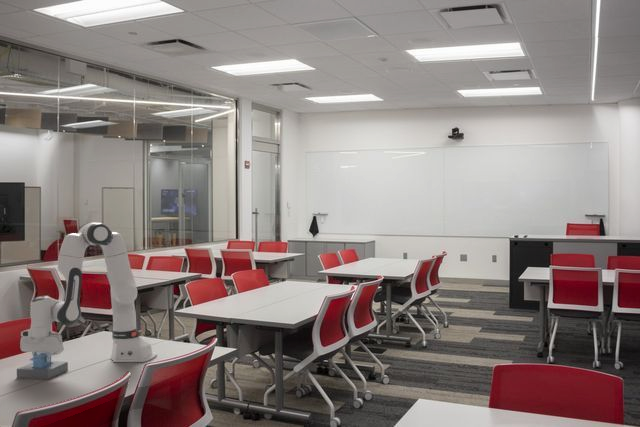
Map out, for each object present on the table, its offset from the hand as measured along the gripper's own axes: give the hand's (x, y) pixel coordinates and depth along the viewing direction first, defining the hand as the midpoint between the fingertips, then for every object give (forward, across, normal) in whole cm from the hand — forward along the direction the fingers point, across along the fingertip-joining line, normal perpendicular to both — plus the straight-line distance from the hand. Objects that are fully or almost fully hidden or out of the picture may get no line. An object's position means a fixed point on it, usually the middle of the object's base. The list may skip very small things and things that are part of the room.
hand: (42, 361), depth 269 cm
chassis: (+6, 0, 0) cm, 6 cm away
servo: (+2, 0, 0) cm, 2 cm away
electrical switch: (+6, +23, -40) cm, 47 cm away
